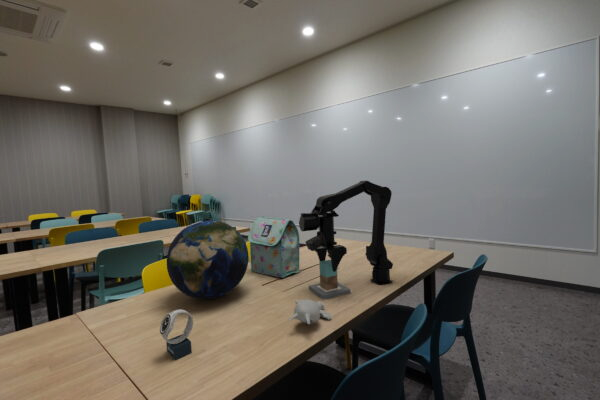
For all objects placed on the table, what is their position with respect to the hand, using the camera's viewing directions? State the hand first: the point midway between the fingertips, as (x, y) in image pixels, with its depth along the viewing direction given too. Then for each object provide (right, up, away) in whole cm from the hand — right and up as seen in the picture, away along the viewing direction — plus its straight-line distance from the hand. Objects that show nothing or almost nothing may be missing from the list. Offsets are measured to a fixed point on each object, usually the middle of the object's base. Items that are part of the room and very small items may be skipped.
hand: (328, 268), depth 114 cm
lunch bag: (-23, -9, +28) cm, 38 cm away
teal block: (0, -2, 0) cm, 2 cm away
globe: (-46, -11, +1) cm, 47 cm away
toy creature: (-8, -11, -24) cm, 28 cm away
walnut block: (0, -7, 0) cm, 7 cm away
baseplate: (0, -9, 0) cm, 9 cm away
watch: (-43, -14, -37) cm, 58 cm away
